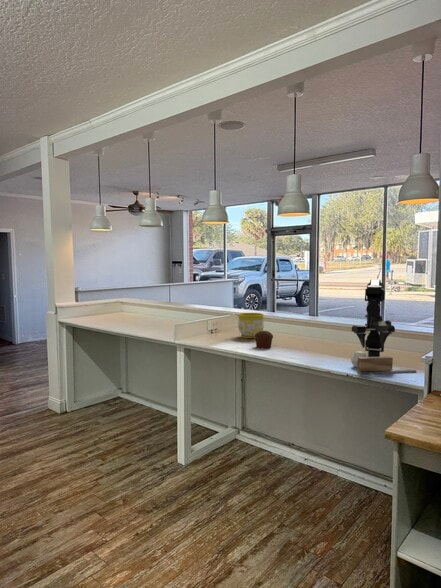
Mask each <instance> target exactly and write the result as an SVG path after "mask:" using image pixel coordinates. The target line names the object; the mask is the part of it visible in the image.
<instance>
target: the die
mask: <svg viewBox="0 0 441 588" xmlns="http://www.w3.org/2000/svg"><path fill="white" fill-rule="evenodd" d="M358 357H368V354H367V353H366V352H365V351H360V350H358V351H355V352H354V353H352V354H351V355H350V360H351V361H350V362H351V364H352V366H353V367H355V368H357V367H358Z"/></svg>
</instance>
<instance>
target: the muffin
mask: <svg viewBox="0 0 441 588" xmlns="http://www.w3.org/2000/svg"><path fill="white" fill-rule="evenodd" d="M273 338H274V335H273V333H271V332H270V331H268V330H263V331H259V332H257V333H256V334H255V339H254V340H255V345H256V348H257V347H258V349H262V348H264V349H271V347H272V342H273Z"/></svg>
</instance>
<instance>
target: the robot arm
mask: <svg viewBox="0 0 441 588" xmlns="http://www.w3.org/2000/svg"><path fill="white" fill-rule="evenodd" d="M364 289H365V291H364V302H367V305H366V309H365V311H366V314H365V316H364V317H365V318H366V323H365V324H364V325H365V326H364V325H361V324H356V325H354V324H353V325H352V326H351V332H353V333H354V334H356V336H357V338H358V339H359V342H360V345H361V347H362V348H363V349H364V350H365V351H364V352H367V357H381V355H380V354H381V353H383V352H385V343H386V340H387V338H388V337H389V336H390V335H391V334H393V333H395V331H396V327H395V326H394V325H392V321H391V320H387V319H386V320H383V315H381V305H382V303H383V302H384V300H385V298H386V297H385V293H386V292H385V284H383V283H382V281H381V279H380V278H372V279H370V280H369V283H368V284H367V285H366V288H364ZM368 331H369V332H368ZM366 332H368V334H367V333H366Z"/></svg>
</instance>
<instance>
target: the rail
mask: <svg viewBox="0 0 441 588" xmlns="http://www.w3.org/2000/svg"><path fill="white" fill-rule="evenodd" d="M409 372H410V373H417V369H415V368H412V367H409V368H408V367H405V368H402V367H401V368H392V370H386V371H362V372H360V371H359V370H356V373H358V374H359V375H362V376H363V375H380V374H381V375H382V374H383V373H386V374H402V373H403V374H406V373H408V374H409Z"/></svg>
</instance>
